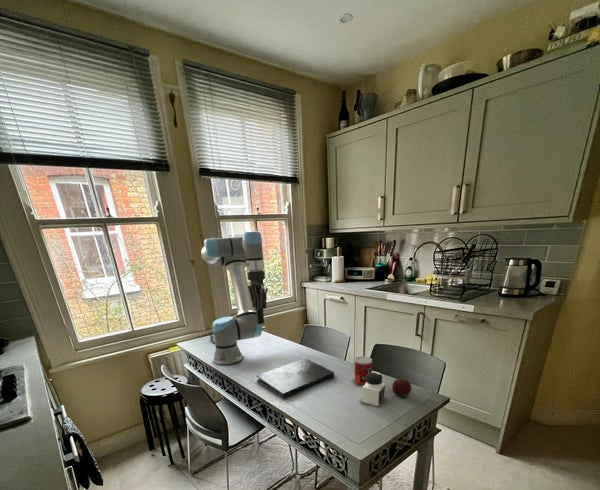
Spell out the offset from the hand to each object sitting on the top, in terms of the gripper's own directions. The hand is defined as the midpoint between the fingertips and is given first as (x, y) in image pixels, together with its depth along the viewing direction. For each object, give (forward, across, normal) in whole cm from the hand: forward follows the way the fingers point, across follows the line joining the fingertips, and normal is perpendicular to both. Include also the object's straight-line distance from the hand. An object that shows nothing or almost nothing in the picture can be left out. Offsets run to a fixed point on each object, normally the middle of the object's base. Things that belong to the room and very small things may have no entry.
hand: (260, 323), depth 145 cm
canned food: (+27, +38, +28) cm, 54 cm away
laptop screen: (+24, +15, +7) cm, 29 cm away
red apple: (+27, +57, +30) cm, 70 cm away
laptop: (+26, +15, +7) cm, 31 cm away
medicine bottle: (+27, +52, +18) cm, 61 cm away
